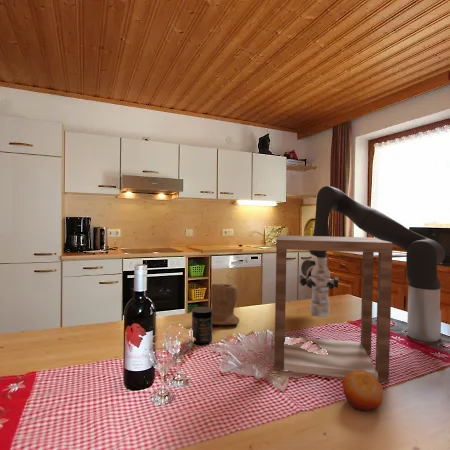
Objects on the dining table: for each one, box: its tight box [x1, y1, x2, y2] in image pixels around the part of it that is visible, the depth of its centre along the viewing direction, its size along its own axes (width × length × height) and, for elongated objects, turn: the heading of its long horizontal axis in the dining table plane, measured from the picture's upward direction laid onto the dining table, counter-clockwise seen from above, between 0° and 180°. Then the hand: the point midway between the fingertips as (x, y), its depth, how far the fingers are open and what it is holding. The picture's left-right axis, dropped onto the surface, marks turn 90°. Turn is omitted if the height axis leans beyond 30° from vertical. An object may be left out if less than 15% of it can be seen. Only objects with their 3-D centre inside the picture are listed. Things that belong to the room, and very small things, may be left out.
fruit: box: [342, 370, 384, 411], centre depth 70 cm, size 8×8×8 cm
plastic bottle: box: [309, 256, 331, 318], centre depth 110 cm, size 6×7×20 cm
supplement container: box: [191, 306, 213, 346], centre depth 103 cm, size 7×7×10 cm
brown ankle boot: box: [209, 283, 240, 326], centre depth 122 cm, size 15×12×15 cm
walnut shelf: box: [273, 234, 394, 383], centre depth 92 cm, size 20×28×34 cm
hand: (321, 285), depth 107 cm, fingers closed on plastic bottle, 6 cm apart
